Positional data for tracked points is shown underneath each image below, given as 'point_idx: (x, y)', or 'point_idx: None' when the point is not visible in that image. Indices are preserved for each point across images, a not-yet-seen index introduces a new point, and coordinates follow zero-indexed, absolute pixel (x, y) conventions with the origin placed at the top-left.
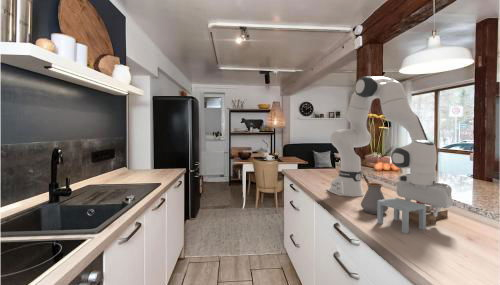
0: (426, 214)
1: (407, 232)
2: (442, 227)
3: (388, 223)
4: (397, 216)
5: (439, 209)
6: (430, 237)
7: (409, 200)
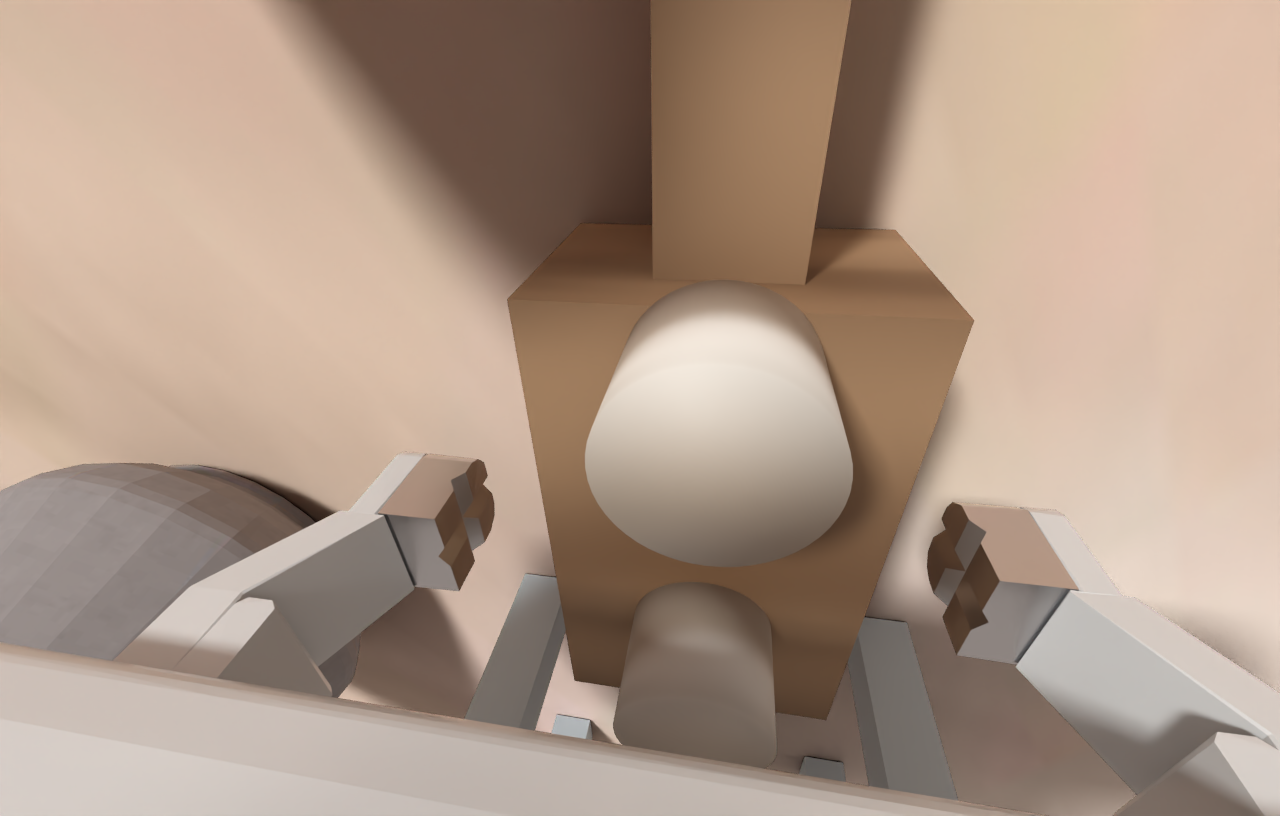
0: (862, 617)
1: (842, 780)
2: (1073, 415)
3: (606, 698)
4: (558, 648)
5: (1263, 718)
6: (1022, 742)
7: (309, 663)
